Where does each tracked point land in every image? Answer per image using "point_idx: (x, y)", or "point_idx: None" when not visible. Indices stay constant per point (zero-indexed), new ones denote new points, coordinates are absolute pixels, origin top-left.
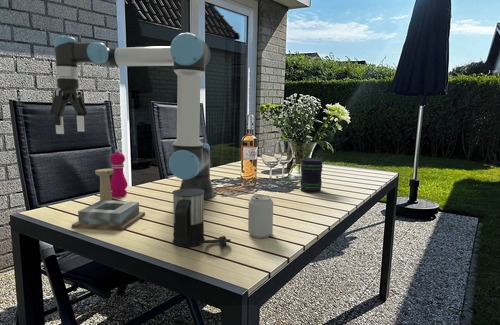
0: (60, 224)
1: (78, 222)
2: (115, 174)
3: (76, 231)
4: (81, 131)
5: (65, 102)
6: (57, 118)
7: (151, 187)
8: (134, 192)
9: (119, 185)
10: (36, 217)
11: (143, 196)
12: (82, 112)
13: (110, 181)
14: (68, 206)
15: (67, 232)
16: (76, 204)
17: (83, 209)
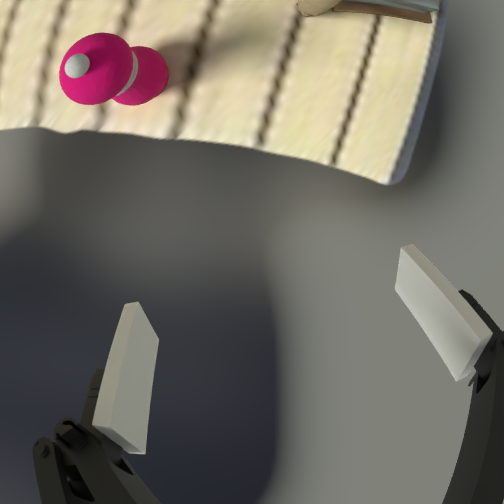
0: (422, 52)
1: (419, 15)
2: (141, 67)
3: None
4: (145, 316)
5: (494, 500)
6: (494, 328)
7: (32, 76)
8: None
9: (156, 52)
10: (403, 127)
11: (133, 6)
12: (98, 463)
13: (152, 90)
14: (313, 119)
15: (444, 21)
16: (289, 113)
17: (427, 3)
